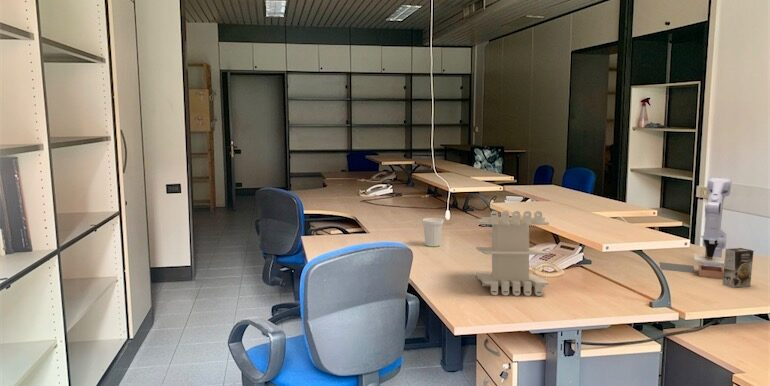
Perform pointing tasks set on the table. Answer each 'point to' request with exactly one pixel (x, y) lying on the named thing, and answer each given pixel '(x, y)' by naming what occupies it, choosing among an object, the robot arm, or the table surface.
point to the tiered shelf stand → (512, 253)
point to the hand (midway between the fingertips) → (709, 256)
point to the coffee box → (738, 267)
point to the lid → (708, 259)
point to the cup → (432, 231)
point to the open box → (710, 271)
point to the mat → (677, 267)
